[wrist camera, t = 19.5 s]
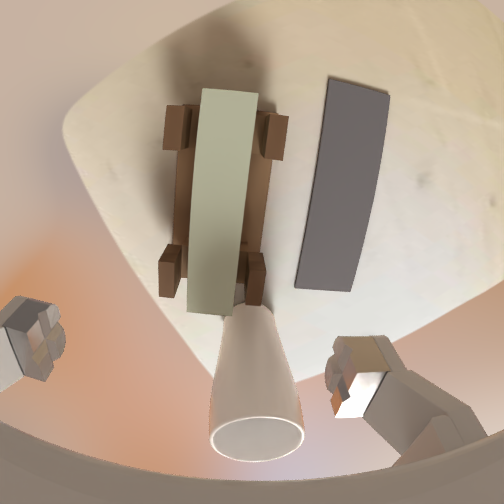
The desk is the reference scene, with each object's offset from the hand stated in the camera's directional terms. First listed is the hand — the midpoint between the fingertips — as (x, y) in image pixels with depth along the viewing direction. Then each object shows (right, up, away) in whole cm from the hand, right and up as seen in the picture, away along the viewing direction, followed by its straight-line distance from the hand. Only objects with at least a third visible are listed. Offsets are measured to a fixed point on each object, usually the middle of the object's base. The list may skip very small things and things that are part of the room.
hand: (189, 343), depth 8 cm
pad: (+10, +8, +19) cm, 23 cm away
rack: (-1, +8, +19) cm, 20 cm away
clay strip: (-1, +7, +16) cm, 17 cm away
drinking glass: (+1, -5, +24) cm, 24 cm away
